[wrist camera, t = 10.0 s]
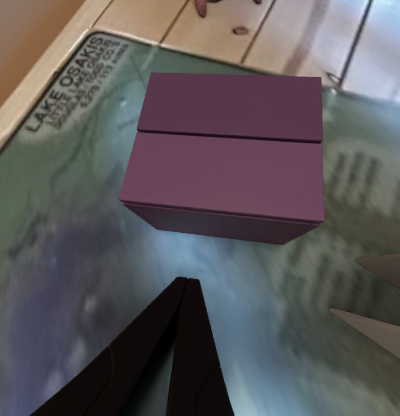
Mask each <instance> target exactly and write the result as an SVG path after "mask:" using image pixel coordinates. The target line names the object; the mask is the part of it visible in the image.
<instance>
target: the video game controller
mask: <svg viewBox="0 0 400 416" xmlns="http://www.w3.org/2000/svg"><path fill="white" fill-rule="evenodd" d="M260 1H261V0H257V2H260ZM196 5H197V8H198V11H199V13H200V14H201V15H202V16H203V15H205V11H206V0H196Z"/></svg>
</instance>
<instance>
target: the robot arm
mask: <svg viewBox="0 0 400 416" xmlns="http://www.w3.org/2000/svg"><path fill="white" fill-rule="evenodd" d="M172 362H173V363H172ZM171 365H172V371H171V379H170V387H169V395H168V403H167V411H166V416H235V415H234V412H233V409H232V406H231V403H230V400H229V396H228V392H227V389H226V385H225V382H224V378H223V374H222V370H221V367H220V362H219V358H218V354H217V350H216V346H215V342H214V338H213V334H212V330H211V325H210V321H209V317H208V313H207V309H206V305H205V301H204V297H203V293H202V289H201V285H200V281H199V280H198V279H193V278H189V279H188V278H186V277H177V278H176V279H175V280H174V281H173V282H172V283H171V284H170V285H169V286H168V287H167V288H166V289H165V290H164V291H163V292H162V293H161V294H160V295H159V296H158V297H157V298H156V299H155V300H154V301H153V302H152V303H151V304H150V305H149V306H148V307H147V308H146V309H145V310H144V311H142V312H141V313H140V314H139V315H138V316H137V317H136V318H135V319H134V320H133V321H132V322H131V323H130V324H129V325H128V326H127V327H126V328H125V329H124V330H123V331H122V332H121V333H120V334H119V335H118V336H117V337H116V338H115V339H114V340H113V341H112V342H111V343H110V345H109V346H107V347H106V348H105V349H104V350H103V351H102V352H101V353H100V354H99V355H98V356H97V357H96V358H95V359H94V360H93V361H92V362H91V363H90V364H89V365H88V366H87V367H86V368H85V369H84V370H83V371H81V372H80V373H79V374H78V375H77V376H76V377H75V378H73V379H72V380H71V381H70V382H69V383H68V384H67V385H65V386H64V387H63V388H62V389H61V390H60V391H58V392H57V393H56V394H55V395H54V396H52V397H51V398H50V399H49V400H48V401H47V402H45V403H44V404H43V405H42V406H41V407H39V408H38V409H37V410H36V411H35V412H33V413H32V414H31V415H30V416H156V413H157V410H158V407H159V403H160V400H161V397H162V394H163V391H164V387H165V384H166V381H167V378H168V374H169V371H170V368H171Z"/></svg>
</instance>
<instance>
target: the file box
mask: <svg viewBox="0 0 400 416" xmlns="http://www.w3.org/2000/svg"><path fill="white" fill-rule="evenodd" d="M137 130H138V132H141V133H155V134H171V135H187V136H202V137H218V138H234V139H250V140H265V141H281V142H297V143H312V144H320V143H321V142H322V141H323V125H322V85H321V77H296V76H260V75H223V74H186V73H151V75H150V79H149V83H148V87H147V91H146V95H145V99H144V102H143V106H142V110H141V114H140V118H139V122H138V126H137ZM123 205H124V206H126V207H127V208H128V209H130V210H131V211H132V212H134V213H135V214H136V215H138V216H139V217H141V218H142V219H143V220H145V221H146V222H147V223H149V224H150V225H151V226H153V227H154V228H155V229H157V230H165V231H173V232H182V233H190V234H198V235H206V236H215V237H223V238H231V239H239V240H248V241H256V242H264V243H272V244H281V245H284V244H286V243H288V242H289V241H291V240H293V239H295V238H297V237H299V236H301V235H303V234H305V233H307V232H309V231H311V230H313V229H314V228H316V227H318V226H320V223H318V222H308V221H299V220H289V219H280V218H271V217H261V216H252V215H243V214H233V213H224V212H214V211H205V210H196V209H186V208H177V207H168V206H158V205H149V204H139V203H130V202H123Z"/></svg>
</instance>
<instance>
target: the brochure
mask: <svg viewBox="0 0 400 416" xmlns="http://www.w3.org/2000/svg"><path fill="white" fill-rule="evenodd" d="M355 262H357V263H359V264H360V265H362V266H363V267H365V268H367V269H368V270H370V271H372V272H373V273H375V274H377V275H378V276H380V277H382V278H383V279H385V280H387V281H388V282H390V283H392V284H393V285H395V286H396V287H398V288H400V253H397V254H389V255H382V256H374V257H367V258H359V259H356V261H355ZM329 311H330V312H332V313H333V314H335V315H336V316H338V317H339V318H341V319H342V320H344V321H345V322H347V323H348V324H349V325H351V326H352V327H354V328H355V329H357V330H358V331H360V332H361V333H363V334H364V335H366V336H367V337H369V338H370V339H371V340H373V341H374V342H376V343H377V344H379V345H380V346H382V347H383V348H385V349H386V350H388V351H389V352H391V353H392V354H393V355H395V356H396V357H398V358H399V359H400V327H399V326H395V325H392V324H388V323H385V322H381V321H378V320H374V319H370V318H367V317H363V316H360V315H356V314H353V313H349V312H346V311H342V310H338V309H335V308H331V307H330V308H329Z"/></svg>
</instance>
